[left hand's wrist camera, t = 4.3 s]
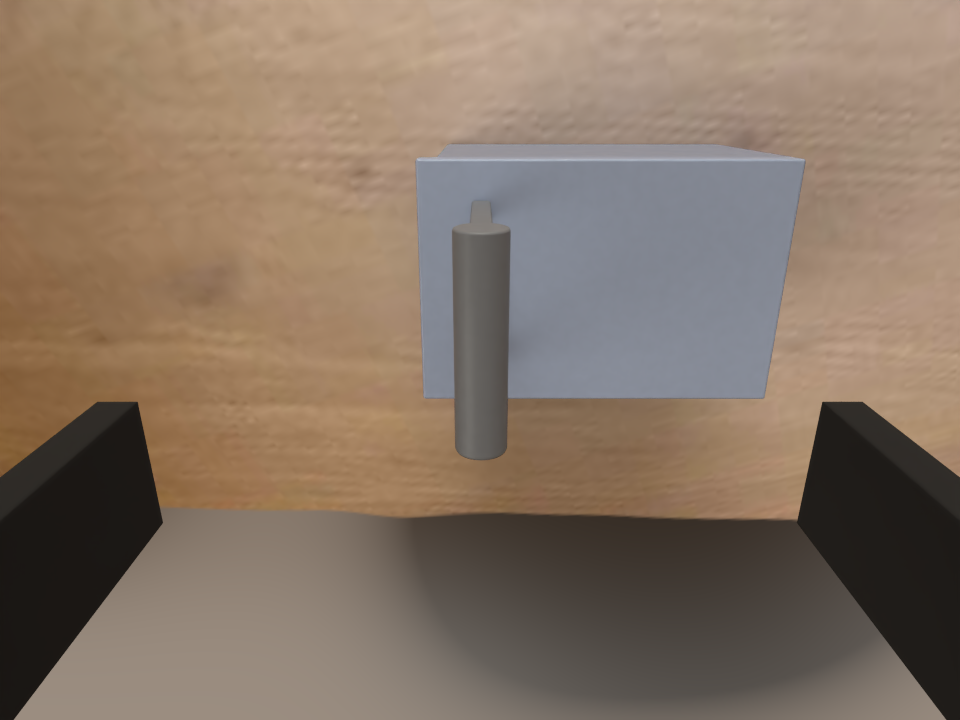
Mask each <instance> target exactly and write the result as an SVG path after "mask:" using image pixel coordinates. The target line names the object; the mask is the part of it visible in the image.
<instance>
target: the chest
mask: <svg viewBox="0 0 960 720" xmlns="http://www.w3.org/2000/svg"><path fill="white" fill-rule="evenodd" d="M438 157H789V156H783V155H777V154H771V153H765V152H759V151H753V150H747V149H741V148H735V147H729V146H723V145H717V144H448V145H447V146H446V147H445V148H444V150H443V151H442V152H441V153H440V154H439V156H438Z"/></svg>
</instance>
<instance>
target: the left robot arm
mask: <svg viewBox="0 0 960 720" xmlns="http://www.w3.org/2000/svg"><path fill="white" fill-rule="evenodd" d="M162 523H163V521H162V516H161V512H160V506H159V502H158V497H157V492H156V487H155V483H154V478H153V473H152V468H151V464H150V459H149V454H148V449H147V445H146V440H145V435H144V430H143V426H142V421H141V416H140V411H139V407H138V402H97V403H95V404H94V405H93V406H92V407H90V408H89V409H88V410H86V411H85V412H84V413H83V414H81V415H80V416H79V417H77V418H76V419H75V420H74V421H72V422H71V423H70V424H68V425H67V426H66V427H65V428H63V429H62V430H61V431H59V432H58V433H57V434H56V435H54V436H53V437H52V438H50V439H49V440H48V441H47V442H45V443H44V444H43V445H41V446H40V447H39V448H38V449H36V450H35V451H34V452H32V453H31V454H30V455H29V456H27V457H26V458H25V459H23V460H22V461H21V462H19V463H18V464H17V465H16V466H14V467H13V468H12V469H10V470H9V471H8V472H7V473H5V474H4V475H3V476H1V477H0V720H14V718H15V717H16V716H17V715H18V713H19V712H20V711H21V709H22V708H23V707H24V705H25V704H26V703H27V701H28V700H29V699H30V697H31V696H32V695H33V693H34V692H35V691H36V689H37V688H38V687H39V686H40V684H41V683H42V682H43V680H44V679H45V678H46V676H47V675H48V674H49V672H50V671H51V670H52V668H53V667H54V666H55V664H56V663H57V662H58V661H59V659H60V658H61V656H62V655H63V654H64V653H65V651H66V650H67V649H68V647H69V646H70V645H71V643H72V642H73V641H74V639H75V638H76V637H77V635H78V634H79V633H80V632H81V630H82V629H83V628H84V626H85V625H86V624H87V622H88V621H89V620H90V618H91V617H92V616H93V614H94V613H95V612H96V610H97V609H98V608H99V606H100V605H101V604H102V602H103V601H104V600H105V599H106V597H107V596H108V595H109V593H110V592H111V591H112V589H113V588H114V587H115V585H116V584H117V583H118V581H119V580H120V579H121V577H122V576H123V575H124V574H125V572H126V571H127V570H128V568H129V567H130V566H131V564H132V563H133V562H134V560H135V559H136V558H137V556H138V555H139V554H140V552H141V551H142V550H143V548H144V547H145V546H146V544H147V543H148V542H149V541H150V539H151V538H152V537H153V535H154V534H155V533H156V531H157V530H158V529H159V527H160V526H161V525H162ZM797 523H798V525H799V526H800V527H801V529H802V530H803V531H804V533H805V534H806V535H807V537H808V538H809V539H810V541H811V542H812V543H813V545H814V546H815V547H816V548H817V550H818V551H819V552H820V554H821V555H822V556H823V558H824V559H825V560H826V562H827V563H828V564H829V566H830V567H831V568H832V570H833V571H834V572H835V574H836V575H837V576H838V577H839V579H840V580H841V581H842V583H843V584H844V585H845V587H846V588H847V589H848V591H849V592H850V593H851V595H852V596H853V597H854V599H855V600H856V601H857V603H858V604H859V605H860V606H861V608H862V609H863V610H864V612H865V613H866V614H867V616H868V617H869V618H870V620H871V621H872V622H873V623H874V625H875V626H876V628H877V629H878V630H879V632H880V633H881V634H882V635H883V637H884V638H885V639H886V641H887V642H888V643H889V645H890V646H891V647H892V649H893V650H894V651H895V653H896V654H897V655H898V657H899V658H900V659H901V660H902V662H903V663H904V664H905V666H906V667H907V668H908V670H909V671H910V672H911V674H912V675H913V676H914V678H915V679H916V680H917V682H918V683H919V684H920V686H921V687H922V688H923V689H924V691H925V692H926V693H927V695H928V696H929V697H930V699H931V700H932V701H933V703H934V704H935V705H936V707H937V708H938V709H939V711H940V712H941V713H942V715H943V716H944V717H945V719H946V720H960V477H959V476H957V475H956V474H955V473H953V472H952V471H951V470H950V469H948V468H947V467H946V466H944V465H943V464H942V463H941V462H939V461H938V460H937V459H935V458H934V457H933V456H931V455H930V454H929V453H928V452H926V451H925V450H924V449H922V448H921V447H920V446H919V445H917V444H916V443H915V442H913V441H912V440H911V439H910V438H908V437H907V436H906V435H904V434H903V433H902V432H901V431H899V430H898V429H897V428H895V427H894V426H893V425H892V424H890V423H889V422H888V421H886V420H885V419H884V418H883V417H881V416H880V415H879V414H877V413H876V412H875V411H874V410H872V409H871V408H870V407H868V406H867V405H866V404H865V403H863V402H822V407H821V411H820V416H819V421H818V426H817V430H816V435H815V440H814V445H813V449H812V454H811V459H810V464H809V468H808V473H807V478H806V483H805V487H804V492H803V497H802V502H801V506H800V511H799V516H798V521H797Z"/></svg>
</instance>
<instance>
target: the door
mask: <svg viewBox="0 0 960 720" xmlns="http://www.w3.org/2000/svg"><path fill="white" fill-rule="evenodd" d="M804 167H805V160H804V159H800V158H794V157H419V158H418V159H416V189H417V218H418V247H419V276H420V305H421V334H422V363H423V392H424V398H455V448H456V450H457V452H458V453H459V454H460V455H461V456H463V457H465V458H468V459H473V460H489V459H494V458H497V457H499V456H501V455H502V454H503V453H504V452H505V451H506V449H507V417H508V399H763V398H764V397H765V391H766V385H767V379H768V374H769V368H770V362H771V356H772V351H773V345H774V339H775V333H776V328H777V322H778V316H779V311H780V305H781V299H782V293H783V288H784V282H785V276H786V270H787V265H788V259H789V253H790V247H791V242H792V236H793V230H794V224H795V219H796V213H797V207H798V202H799V196H800V190H801V184H802V179H803V173H804Z"/></svg>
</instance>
